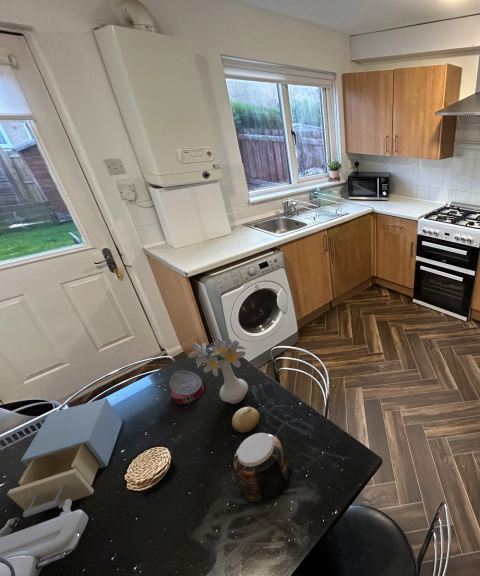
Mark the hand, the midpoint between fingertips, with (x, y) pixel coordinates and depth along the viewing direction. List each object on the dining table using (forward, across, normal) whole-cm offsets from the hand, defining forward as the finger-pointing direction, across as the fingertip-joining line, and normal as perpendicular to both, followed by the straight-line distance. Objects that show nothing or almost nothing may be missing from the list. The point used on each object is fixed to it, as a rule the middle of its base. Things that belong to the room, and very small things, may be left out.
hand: (41, 510), depth 73 cm
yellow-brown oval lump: (+11, -45, +7) cm, 47 cm away
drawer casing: (+21, 0, +7) cm, 22 cm away
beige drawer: (+9, 0, +6) cm, 11 cm away
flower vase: (+25, -41, +7) cm, 48 cm away
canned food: (+34, -26, +7) cm, 43 cm away
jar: (-10, -49, +7) cm, 50 cm away
